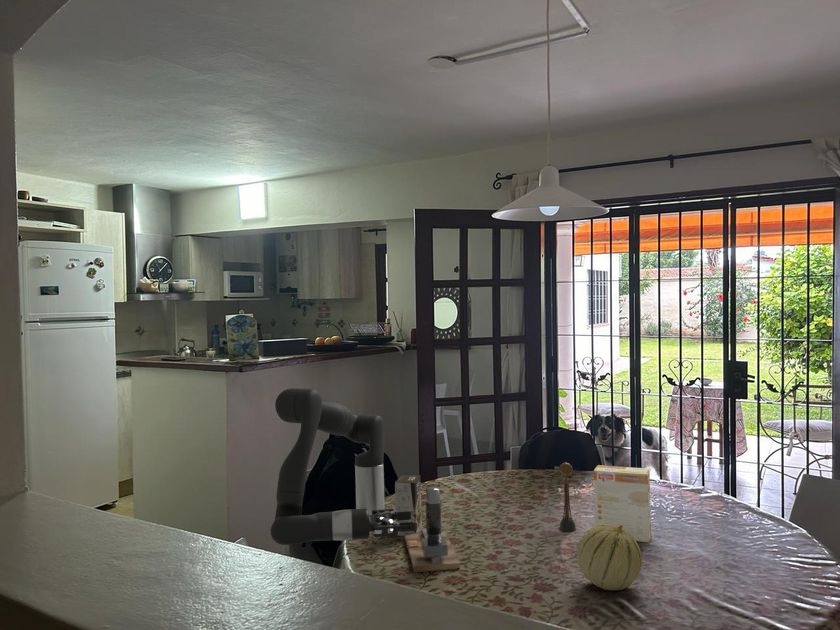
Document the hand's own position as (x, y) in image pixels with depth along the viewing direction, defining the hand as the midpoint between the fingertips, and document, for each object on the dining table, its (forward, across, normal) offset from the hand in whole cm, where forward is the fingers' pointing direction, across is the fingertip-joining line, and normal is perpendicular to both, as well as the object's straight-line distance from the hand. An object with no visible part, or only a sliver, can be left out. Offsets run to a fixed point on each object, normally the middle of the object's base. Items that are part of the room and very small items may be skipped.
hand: (412, 520), depth 163 cm
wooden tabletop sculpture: (+48, +19, +12) cm, 54 cm away
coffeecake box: (+63, +10, +12) cm, 65 cm away
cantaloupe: (+45, -21, +12) cm, 51 cm away
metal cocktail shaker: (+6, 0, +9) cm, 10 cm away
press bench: (+6, +8, +12) cm, 15 cm away
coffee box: (+2, +26, +12) cm, 29 cm away
